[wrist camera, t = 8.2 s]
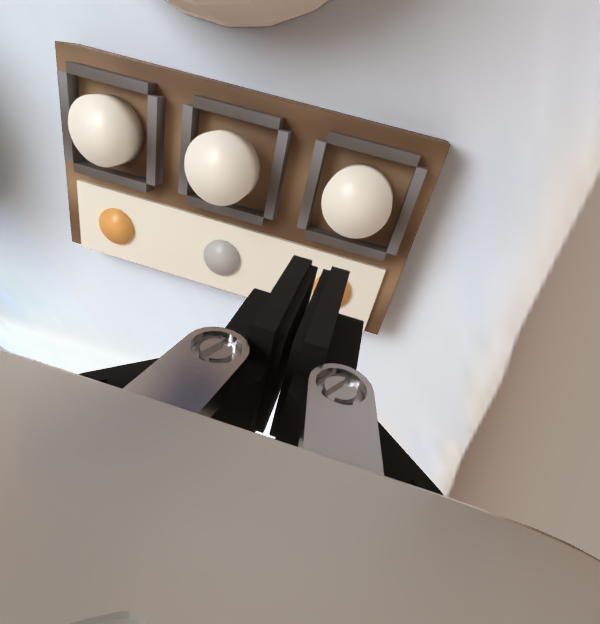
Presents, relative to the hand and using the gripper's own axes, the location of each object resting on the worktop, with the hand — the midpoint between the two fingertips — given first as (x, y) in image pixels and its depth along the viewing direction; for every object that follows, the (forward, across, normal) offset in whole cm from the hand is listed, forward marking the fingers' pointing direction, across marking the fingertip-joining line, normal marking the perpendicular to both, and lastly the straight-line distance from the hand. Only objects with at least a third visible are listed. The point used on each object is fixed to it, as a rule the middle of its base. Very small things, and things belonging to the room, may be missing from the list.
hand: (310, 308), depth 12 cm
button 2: (+15, 0, 0) cm, 15 cm away
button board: (+17, +8, +3) cm, 19 cm away
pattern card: (+15, +8, +7) cm, 18 cm away
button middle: (+14, +8, 0) cm, 16 cm away
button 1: (+15, +16, 0) cm, 22 cm away
